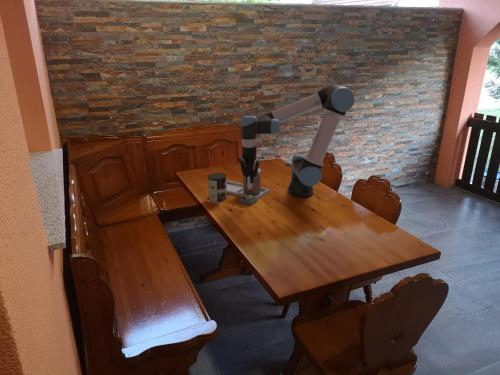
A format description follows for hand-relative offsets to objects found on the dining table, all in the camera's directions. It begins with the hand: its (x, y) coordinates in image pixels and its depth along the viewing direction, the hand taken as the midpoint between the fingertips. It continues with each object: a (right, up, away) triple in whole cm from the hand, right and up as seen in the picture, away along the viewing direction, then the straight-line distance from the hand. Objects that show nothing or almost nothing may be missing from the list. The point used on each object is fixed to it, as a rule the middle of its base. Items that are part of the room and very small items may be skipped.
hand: (250, 188), depth 199 cm
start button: (-1, -7, +3) cm, 7 cm away
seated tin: (+1, -3, +15) cm, 15 cm away
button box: (-1, -8, +3) cm, 9 cm away
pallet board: (-5, -2, +18) cm, 19 cm away
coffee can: (-18, -6, +8) cm, 21 cm away
